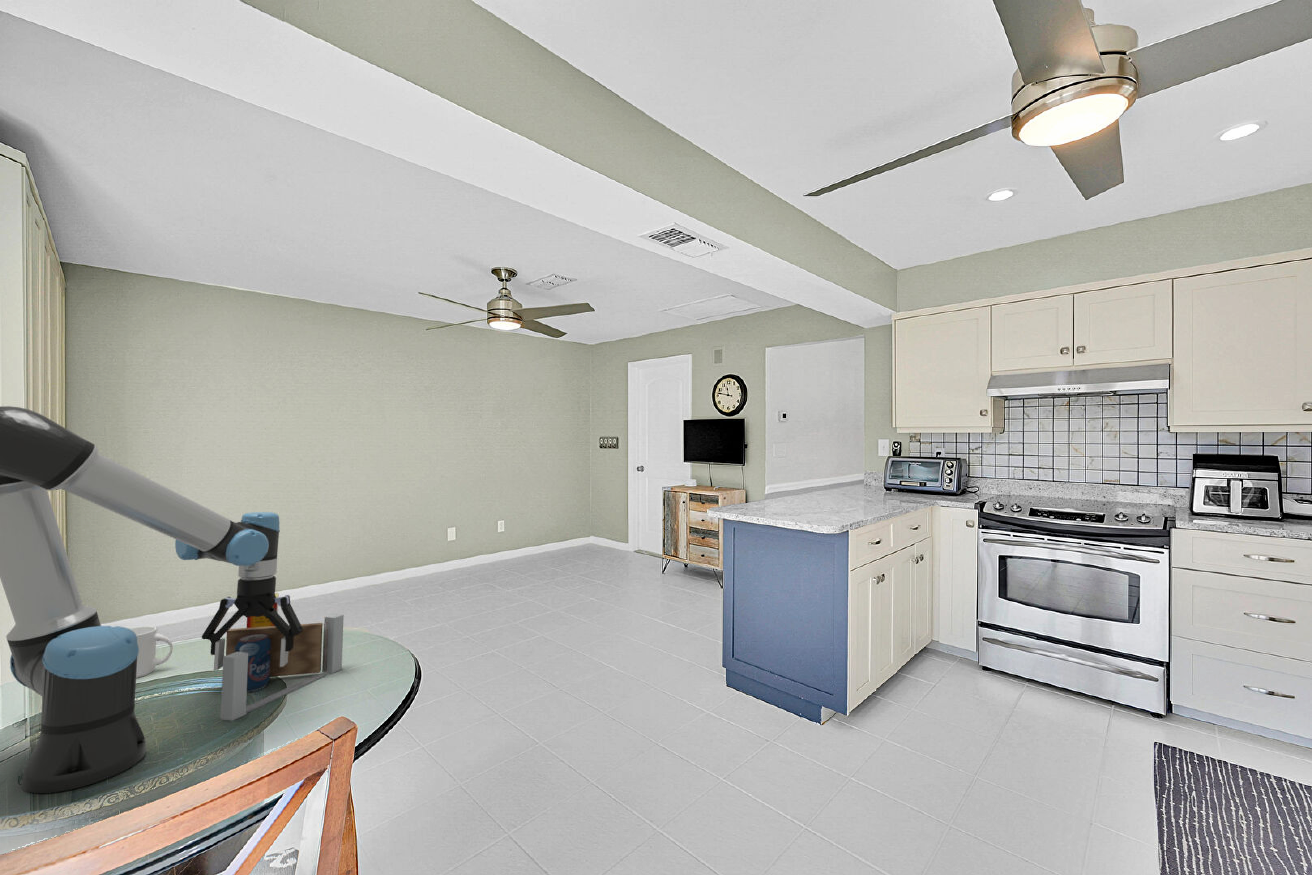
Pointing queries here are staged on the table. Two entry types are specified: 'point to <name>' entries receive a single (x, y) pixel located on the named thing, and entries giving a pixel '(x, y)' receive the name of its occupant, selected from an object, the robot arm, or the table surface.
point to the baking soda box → (261, 619)
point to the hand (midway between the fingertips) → (251, 666)
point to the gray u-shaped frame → (237, 691)
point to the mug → (148, 649)
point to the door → (299, 658)
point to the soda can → (256, 659)
